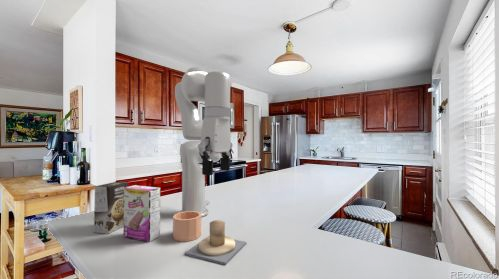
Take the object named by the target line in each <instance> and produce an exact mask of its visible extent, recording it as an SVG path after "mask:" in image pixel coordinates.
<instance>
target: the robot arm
mask: <svg viewBox="0 0 499 279" xmlns="http://www.w3.org/2000/svg"><path fill="white" fill-rule="evenodd" d="M174 96H175V97H174V98H175V102H176V105H177V108H178V110H179V113H180V119H181V121H180V122H181V132H182V136H183V138H184V140H187V141H185V142H183V143H182V144H181V146H180V148H179V154H180V160H181V170H182V171H181V172H182V175H181V177H182V178H181V179H182V180H181V182H182V183H181V184H182V186H181V187H182V188H181V189H182V190H181V191H182V192H181V209H180V210H178V212H177V213H180V212H185V211H196V212H200V213H201V214H202V218H203V217H205V216H207V215H208V214H209V209H208V208H206V207H207V206H208V205H210V203H211V202H210V200H206V198H205V197H206V196H205V194H206V192H205V191H206V190H205V189H206V177H205V176H212V175H213V174H214V163H217V162H219V163H220V166H219V168H220V171H227V172H229V171H231V157H232V155H231V154H232V151H233V150H232V149H233V143H232V142H231V126H230V120H231V76H230V74H228V73H227V72H225V71H220V70H216V69H213V68H205V67H199V66H193V67H190V68H188V69H187V70H186V71H185V73H184V74H183V76H182V78H181V81H180V82H177V83H176V85H175V87H174ZM193 102H203V103H204V118H203V119H201V116H200V114H201V113H200V111H199V109H198V107H197V106H196V105H195V103H193ZM200 164H201V165H200Z"/></svg>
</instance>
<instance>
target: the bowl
mask: <svg viewBox="0 0 499 279" xmlns="http://www.w3.org/2000/svg"><path fill="white" fill-rule="evenodd" d="M202 218H203V217H202V214H201V213H200V212H196V211H185V212H180V213H178V212H176V213H175V214H174V215H173V216H172V237H173V240H174V241H177V242H183V243H185V242H187V243H188V242H192V241H194V240H198V239H199V238H200V237H201V236H202Z"/></svg>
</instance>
